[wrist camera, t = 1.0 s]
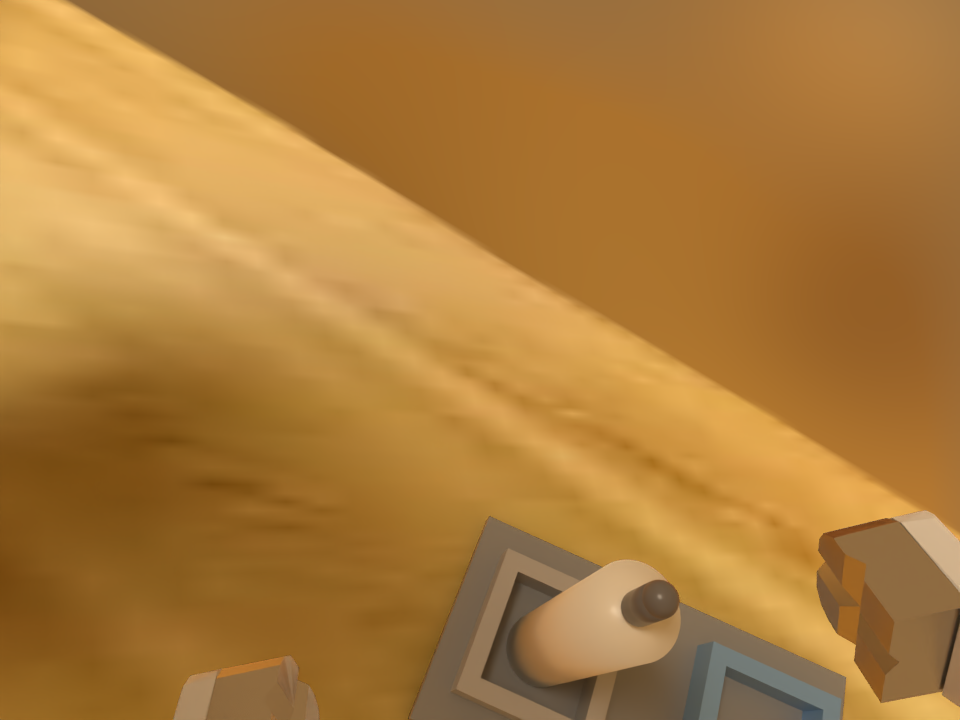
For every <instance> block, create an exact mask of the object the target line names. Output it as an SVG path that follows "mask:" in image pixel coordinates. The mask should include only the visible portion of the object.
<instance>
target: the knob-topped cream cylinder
mask: <svg viewBox="0 0 960 720" xmlns="http://www.w3.org/2000/svg"><path fill="white" fill-rule="evenodd" d="M680 625H681V615H680V608H679V595H678V592H677V590H676V589H675V587H674V586H673V585H672V584H670V583H669V582H668V581H667V580H666V579H665V578H664V577H663V576H662V575H661V574H660V573H659V572H658V571H657V570H655V569H654V568H653V567H651V566H649V565H647V564H645V563H643V562H640V561H636V560H618V561H614V562H612V563H610V564H608V565H606V566H604V567H603V568H601V569H599V570H598V571H596V572H594V573H593V574H591V575H590V576H588V577H586V578H585V579H583V580H581V581H580V582H578V583H577V584H575V585H573V586H572V587H570V588H568V589H567V590H565V591H564V592H562V593H560V594H559V595H557V596H555V597H554V598H552V599H551V600H549V601H547V602H546V603H544V604H542V605H541V606H539V607H538V608H536V609H534V610H533V611H531V612H529V613H528V614H526V615H525V616H523V617H521V618H520V619H519V620H518V621H517V622H516V623H515V624H514V625H513V626H512V628H511V630H510V632H509V634H508V638H507V643H506V653H507V658H508V661H509V664H510V666H511V668H512V670H513V672H514V673H515V674H516V675H517V677H519V678H520V679H521V680H522V681H523V682H525V683H527V684H528V685H531V686H534V687H541V688H543V687H550V686H554V685H558V684H562V683H567V682H571V681H575V680H579V679H584V678H588V677H592V676H597V675H601V674H605V673H609V672H614V671H618V670H622V669H626V668H631V667H635V666H639V665H643V664H648V663H652V662H655V661H657V660H659V659H661V658H662V657H664V656H665V655H666V654H667V653H668V652H669V651H670V650H671V649H672V647H673V646H674V644H675V642H676V640H677V638H678V635H679V631H680Z"/></svg>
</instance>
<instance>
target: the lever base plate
mask: <svg viewBox="0 0 960 720" xmlns="http://www.w3.org/2000/svg"><path fill="white" fill-rule="evenodd" d="M601 568H603V567H601V566H599V565H596V564H594V563H592V562H590V561H588V560H585V559H583V558H581V557H579V556H577V555H574V554H572V553H570V552H568V551H565V550H563V549H561V548H559V547H557V546H554V545H552V544H550V543H548V542H546V541H543V540H541V539H539V538H537V537H535V536H532V535H530V534H528V533H526V532H523V531H521V530H519V529H517V528H515V527H512V526H510V525H508V524H506V523H504V522H501V521H499V520H497V519H495V518H493V517H490V516H489V518H488V519H487V520H486V523H485V525H484V528H483V530H482V533H481V535H480V538H479V540H478V543H477V545H476V548H475V550H474V553H473V555H472V558H471V561H470V563H469V566H468V568H467V571H466V573H465V576H464V578H463V581H462V583H461V586H460V588H459V591H458V593H457V596H456V599H455V601H454V604H453V606H452V609H451V611H450V614H449V616H448V619H447V621H446V624H445V626H444V629H443V631H442V634H441V636H440V639H439V642H438V644H437V647H436V649H435V652H434V654H433V657H432V659H431V662H430V664H429V667H428V669H427V672H426V674H425V677H424V680H423V682H422V685H421V687H420V690H419V692H418V695H417V697H416V700H415V702H414V705H413V707H412V710H411V712H410V715H409V717H408V719H410V720H842V717H843V706H844V695H845V684H846V677H844V676H842V675H840V674H837V673H835V672H833V671H831V670H829V669H826V668H824V667H822V666H820V665H818V664H815V663H813V662H811V661H809V660H807V659H804V658H802V657H800V656H798V655H795V654H793V653H791V652H789V651H787V650H784V649H782V648H780V647H778V646H776V645H773V644H771V643H769V642H767V641H765V640H762V639H760V638H758V637H756V636H753V635H751V634H749V633H747V632H745V631H742V630H740V629H738V628H736V627H734V626H731V625H729V624H727V623H725V622H722V621H720V620H718V619H716V618H714V617H711V616H709V615H707V614H705V613H703V612H700V611H698V610H696V609H694V608H692V607H689V606H687V605H685V604H683V603H680V602H679V608H680V615H681V625H680V631H679V635H678V638H677V640H676V642H675V644H674V646H673V647H672V649H671V650H670V651H669V652H668V653H667V654H666V655H665V656H664V657H662V658H661V659H659V660H657V661H655V662H652V663H648V664H643V665H639V666H635V667H631V668H626V669H622V670H618V671H614V672H609V673H605V674H601V675H597V676H592V677H588V678H584V679H579V680H575V681H571V682H567V683H562V684H558V685H554V686H550V687H543V688H541V687H534V686H531V685H528V684H527V683H525V682H523V681H522V680H521V679H520V678H519V677H517V675H516V674H515V673H514V672H513V670H512V668H511V666H510V664H509V661H508V658H507V653H506V643H507V638H508V634H509V632H510V630H511V628H512V626H513V625H514V624H515V623H516V622H517V621H518V620H519V619H520V618H521V617H523V616H525V615H526V614H528V613H529V612H531V611H533V610H534V609H536V608H538V607H539V606H541V605H542V604H544V603H546V602H547V601H549V600H551V599H552V598H554V597H555V596H557V595H559V594H560V593H562V592H564V591H565V590H567V589H568V588H570V587H572V586H573V585H575V584H577V583H578V582H580V581H581V580H583V579H585V578H586V577H588V576H590V575H591V574H593V573H594V572H596V571H598V570H599V569H601Z"/></svg>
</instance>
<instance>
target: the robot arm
mask: <svg viewBox="0 0 960 720" xmlns="http://www.w3.org/2000/svg"><path fill="white" fill-rule="evenodd" d="M818 551H819V553H820V554H821V556H822V557H823V559H824V560H825V563H824V564H823V565H822V566H821V567H820V568H819V570H818V571H817V590H818V594H819V597H820V601H821V605H822V607H823V609H824V611H825V614H826V616H827V618H828V620H829V621H830V623H831V625H832V626H833V628H834V630H835V631H836V633H837V634H838V635H840V636H842V637H843V638H845V639H847V640H849V641H850V642H852V643H854V644H855V645H856V648H855V658H854V661H855V663H856V665H857V666H858V668H859V669H860V671H861V672H862V674H863V676H864V677H865V679H866V680H867V682H868V683H869V685H870V686H871V688H872V690H873V691H874V693H875V694H876V696H877V697H878V699H879V701H880V702H881V703H884V702H889V701H894V700H899V699H905V698H910V697H915V696H921V695H926V694H931V693H936V692H942V691H943V692H942V695H943V696H944V697H946V698H947V699H949V700H950V701H952V702H953V703H954V704H956V705H957V706H959V707H960V541H959V540H958V539H957V538H956V537H955V536H954V535H953V534H952V533H951V532H950V531H949V530H948V529H947V528H946V526H945V525H944V524H943V523H942V522H941V521H940V520H939V519H938V518H937V517H936V516H935V515H934V514H932V513H930V512H928V511H926V510H925V511H919V512H915V513H910V514H906V515H902V516H897V517H893V518H890V519H888V518H885V519H881V520H877V521H872V522H868V523H864V524H860V525H856V526H852V527H848V528H843V529H839V530H835V531H831V532H827V533H823V535H822V536H821V538H820V539H819V549H818ZM298 672H299V667H298V665H297V664H296V662H295V661H294V659H293V658H292V656H291V655H289V656H284V657H279V658H273V659H268V660H263V661H258V662H253V663H248V664H243V665H238V666H233V667H228V668H223V669H218V670H213V671H209V672H204V673H200V674H195V675H190V677H189V678H188V680H187V681H186V683H185V684H184V686H183V687H182V691H181V694H180V697H179V701H178V704H177V708H176V711H175V714H174V718H173V720H320V719H319V708H318V705H317V701H316V698H315V695H314V693H313V691H312V689H311V688H310V686H309V685H308V684H305V683H303V682H301V681H299V680H298Z"/></svg>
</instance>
